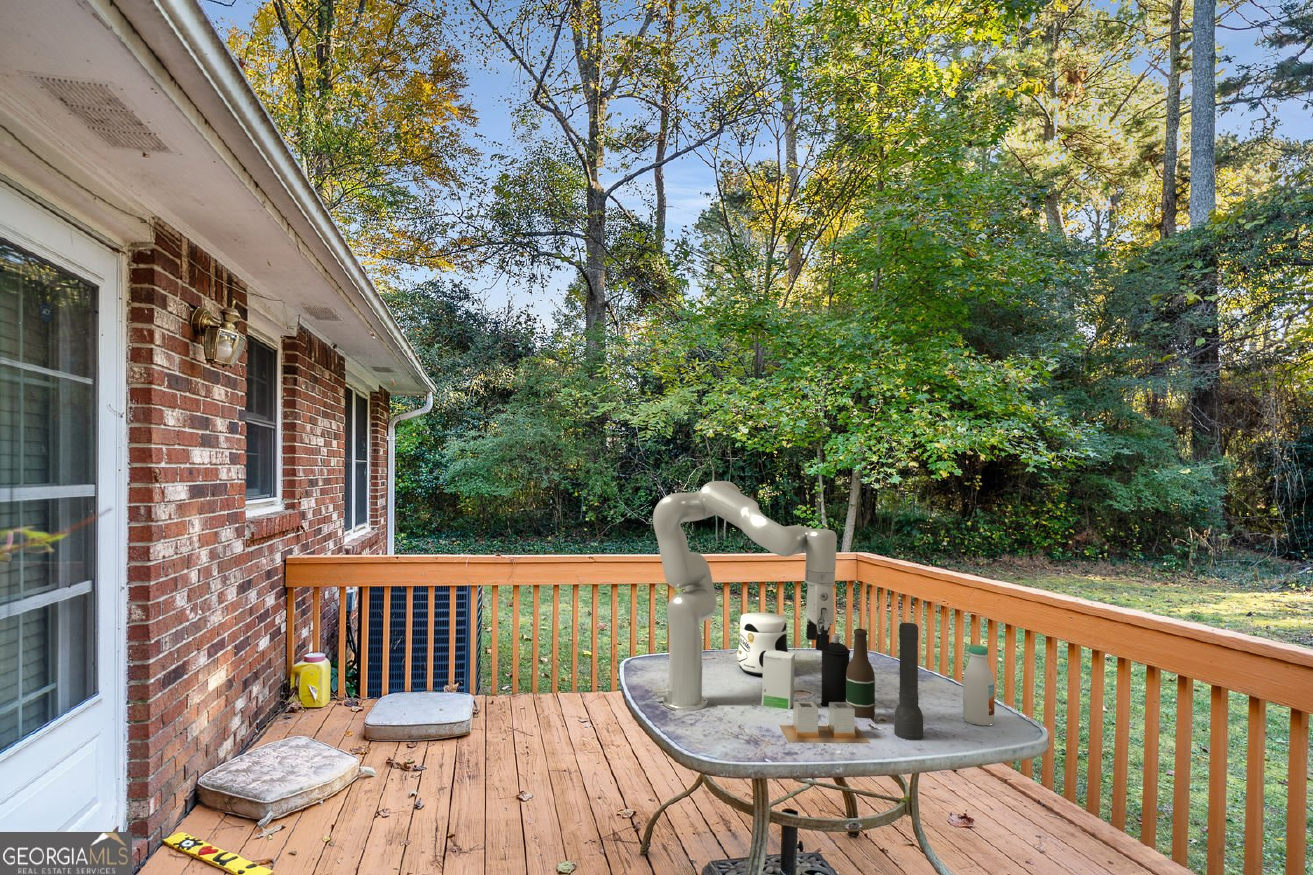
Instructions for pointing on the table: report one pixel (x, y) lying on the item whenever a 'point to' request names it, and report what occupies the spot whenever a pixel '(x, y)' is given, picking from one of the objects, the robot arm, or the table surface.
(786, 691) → the skincare box
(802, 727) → the sleeve seated
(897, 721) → the flashlight
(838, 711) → the sleeve
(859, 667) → the beer bottle
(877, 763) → the table surface
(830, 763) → the table surface
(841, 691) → the aerosol can
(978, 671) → the milk bottle
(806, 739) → the pin board
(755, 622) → the milk container
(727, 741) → the table surface
